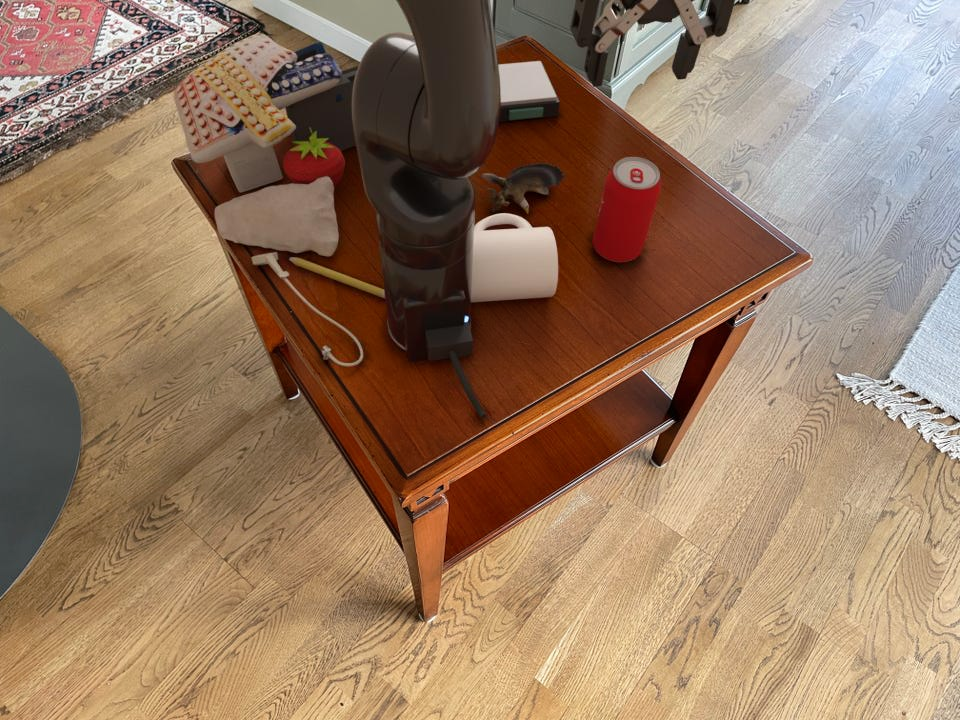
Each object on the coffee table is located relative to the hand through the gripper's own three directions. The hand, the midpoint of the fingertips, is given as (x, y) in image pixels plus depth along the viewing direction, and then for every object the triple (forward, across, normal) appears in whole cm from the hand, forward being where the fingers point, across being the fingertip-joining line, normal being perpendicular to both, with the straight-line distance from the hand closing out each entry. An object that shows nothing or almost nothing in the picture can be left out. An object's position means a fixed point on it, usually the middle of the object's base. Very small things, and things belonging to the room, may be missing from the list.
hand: (637, 78), depth 68 cm
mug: (+24, -12, -3) cm, 27 cm away
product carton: (+24, -41, +20) cm, 52 cm away
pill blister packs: (+13, -34, +14) cm, 40 cm away
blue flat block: (+16, -32, +30) cm, 47 cm away
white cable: (+23, -32, -14) cm, 42 cm away
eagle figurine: (+24, -8, +10) cm, 27 cm away
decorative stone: (+20, -31, +7) cm, 38 cm away
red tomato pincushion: (+24, -33, +14) cm, 43 cm away
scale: (+24, -3, +32) cm, 40 cm away
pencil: (+24, -32, 0) cm, 40 cm away
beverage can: (+24, +2, 0) cm, 24 cm away
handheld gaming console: (+24, -25, +26) cm, 43 cm away
